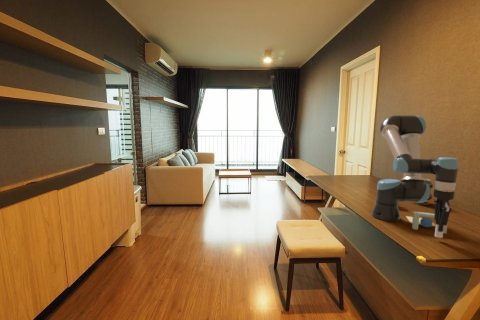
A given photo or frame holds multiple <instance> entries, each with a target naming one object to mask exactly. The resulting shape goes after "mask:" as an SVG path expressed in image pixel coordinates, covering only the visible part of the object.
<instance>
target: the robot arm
mask: <svg viewBox="0 0 480 320" xmlns="http://www.w3.org/2000/svg"><path fill="white" fill-rule="evenodd" d="M426 123H427V122H426V121H425V118H424V117H423V116H421V115H414V114H412V115H409V114H408V115H390V116H389V117H386V118H385V119H383V121H382V123H381V124H380V127H379V128H380V129H379V131H380V135H381V136H382V137H383V138H384V139H385V141H386V143H387V144H388V145H387V146H388V147H389V149H390V152H391V154H392V156H393V158H394V160H393V161H392V169H393V171H394V172H395V173H402V174H403V177H402V178H401V179H395V178H385V179H380V180H379V181H377V186H376V196H375V204H374V206H373V208H372V210H371V216H372V217H373V218H375V219H379V220H381V221H386V222H398V221H400V220H401V214H400V211H399V202H400V203H401V202H402V203H413V202H414V203H413V204H415V203H423V202H427V201H428V200H427V199H428V198H429V195H430V194H431V190H430V187H429V185H428V184H426V183H425V181H424V179H425V178H423V177H422V174H423V175H424V174H425V175H426V174H427V175H428V174H429V175H435V179H434V184H433V188H434V189H433V196H432V197H434V198H436V199H435V200H434V201H433V202H434V214H435V216H434V217H433V218H434V221H435V225H436V226H435V228H434V237H435V238H440V239H443V237H444V233H443V230H444V226H445V225H447V222H448V223H449V217H450V213H451V211H452V207H450V201H451V200H454V199H455V190H456V187H457V184H456V183H457V177H458V171H459V160H458V158H456V157H446V156H445V157H444V156H443V157H442V156H440V157H438V158H437V159H436V158H421V154H420V138H421V137H422V136H423V135H424V133H426V128H427V124H426ZM447 226H448V225H447Z"/></svg>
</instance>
